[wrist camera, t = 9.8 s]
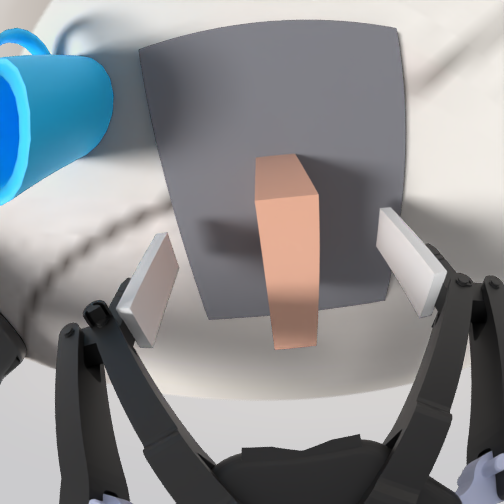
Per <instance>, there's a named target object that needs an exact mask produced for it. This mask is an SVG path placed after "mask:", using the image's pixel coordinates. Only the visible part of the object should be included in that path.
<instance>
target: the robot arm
mask: <svg viewBox="0 0 504 504" xmlns="http://www.w3.org/2000/svg"><path fill="white" fill-rule="evenodd" d="M376 247H377V248H378V250H379V251H380V253H381V254H382V256H383V257H384V259H385V261H386V262H387V264H388V265H389V267H390V269H391V270H392V272H393V273H394V275H395V277H396V278H397V280H398V282H399V283H400V285H401V287H402V288H403V290H404V292H405V294H406V295H407V297H408V299H409V301H410V302H411V304H412V306H413V308H414V309H415V311H416V313H417V315H418V317H419V318H422V317H426V316H430V315H432V312H433V310H434V307H436V309H437V311H438V313H437V316H436V318H435V320H434V323H433V325H432V327H433V329H432V333H431V336H430V339H429V342H428V345H427V348H426V351H425V354H424V357H423V360H422V363H421V366H420V368H419V371H418V373H417V376H416V379H415V381H414V383H413V386H412V388H411V391H410V393H409V395H408V398H407V400H406V402H405V404H404V406H403V408H402V411H401V413H400V415H399V417H398V419H397V421H396V423H395V425H394V427H393V428H392V430H391V432H390V433H389V435H388V436H387V438H386V439H385V441H384V442H383V444H380V443H378V442H375V441H371V440H361V438H360V434H358V435H353V436H348V437H343V438H338V439H333V440H330V441H327V442H325V443H323V444H320V445H318V446H315V447H312V448H309V449H307V450H304V451H298V450H290V449H282V448H275V447H255V448H242V453H241V454H237V455H234V456H231V457H229V458H227V459H225V460H223V461H221V462H220V463H219V464H217V465H216V464H215V462H214V461H213V460H212V459H211V458H210V457H209V456H208V455H207V454H206V453H205V452H204V451H203V450H202V448H201V447H200V446H199V445H198V443H197V442H196V441H195V440H194V439H193V437H192V436H191V435H190V433H189V432H188V431H187V429H186V428H185V427H184V425H183V424H182V423H181V421H180V420H179V418H178V417H177V416H176V414H175V413H174V411H173V410H172V408H171V407H170V406H169V404H168V403H167V401H166V400H165V398H164V397H163V395H162V394H161V392H160V390H159V389H158V387H157V386H156V384H155V383H154V381H153V379H152V378H151V376H150V374H149V373H148V371H147V369H146V368H145V366H144V364H143V363H142V361H141V359H140V357H139V356H138V354H137V352H136V350H135V349H134V347H133V345H134V342H135V341H136V342H137V344H138V345H139V347H140V348H153V346H154V343H155V340H156V336H157V333H158V330H159V327H160V324H161V321H162V317H163V314H164V311H165V308H166V305H167V302H168V299H169V296H170V294H171V291H172V288H173V285H174V282H175V279H176V276H177V274H178V271H179V266H178V263H177V260H176V257H175V254H174V251H173V248H172V245H171V242H170V239H169V236H168V233H167V232H166V233H159V234H156V235H155V237H154V239H153V241H152V242H151V244H150V246H149V247H148V249H147V251H146V253H145V254H144V256H143V258H142V260H141V262H140V263H139V265H138V267H137V269H136V271H135V273H134V274H133V276H132V278H127V279H126V280H125V281H124V282H123V283H122V284H121V285H120V287H119V289H118V292H117V293H116V295H115V297H114V298H113V300H112V302H111V304H110V306H109V308H108V306H107V304H106V303H105V302H104V301H102V300H97V301H94V302H92V303H90V304H89V305H88V306H87V307H86V308H85V309H84V312H83V317H84V319H85V320H86V322H87V323H88V325H89V326H90V327H86V328H83V329H81V328H80V327H79V325H78V324H77V323H70V324H68V325H66V326H65V327H64V328H63V329H62V330H61V332H60V335H59V341H58V351H57V363H56V383H55V414H56V415H55V419H56V435H57V436H56V437H57V448H58V457H59V465H60V472H61V478H62V479H61V488H60V501H59V504H132V503H131V502H130V499H129V493H128V487H127V484H126V479H125V476H124V473H123V469H122V465H121V461H120V457H119V454H118V449H117V445H116V441H115V436H114V431H113V426H112V421H111V415H110V409H109V402H108V395H107V388H106V379H105V369H104V365H105V368H106V370H107V373H108V375H109V378H110V380H111V382H112V385H113V387H114V389H115V391H116V394H117V396H118V398H119V400H120V402H121V404H122V406H123V408H124V410H125V412H126V414H127V416H128V418H129V420H130V422H131V424H132V426H133V428H134V430H135V431H136V433H137V435H138V437H139V438H140V440H141V442H142V444H143V446H144V450H143V453H144V455H145V458H146V459H147V461H148V463H149V464H150V466H151V467H152V469H153V470H154V472H155V474H156V475H157V477H158V478H159V480H160V481H161V482H162V484H163V485H164V487H165V488H166V490H167V491H168V492H169V494H170V495H171V496H172V498H173V499H174V500H175V502H176V504H497V503H500V502H503V501H504V285H503V283H502V281H501V280H500V279H499V278H497V277H495V276H486V277H485V279H484V282H483V284H482V283H473V281H472V280H471V279H470V278H469V277H468V276H467V275H464V274H461V273H456V272H455V271H454V269H453V268H452V267H451V266H450V264H449V263H448V262H447V261H446V260H445V259H444V257H443V256H442V255H440V253H439V251H438V250H437V249H436V248H435V247H433V246H432V245H430V244H424V243H423V242H422V241H421V239H420V238H419V237H418V236H417V235H416V234H415V233H414V232H413V230H412V229H411V228H410V227H409V226H408V225H407V224H406V223H405V222H404V221H403V220H402V219H401V218H400V217H399V216H398V214H397V213H396V212H395V211H394V210H393V209H392V208H391V207H387V208H380V212H379V224H378V233H377V242H376ZM468 334H469V340H470V353H471V378H472V388H471V389H472V391H471V415H470V428H469V436H468V445H467V466H466V467H465V468H464V470H463V472H462V474H461V476H460V477H459V478H458V481H457V483H458V486H459V487H458V489H457V491H456V492H453V491H452V490H450V489H448V488H447V487H445V486H444V485H442V484H441V483H439V482H437V481H436V480H434V479H433V478H431V477H430V476H429V474H430V472H431V470H432V468H433V466H434V464H435V462H436V459H437V457H438V455H439V453H440V450H441V448H442V445H443V443H444V441H445V438H446V435H447V432H448V430H449V427H450V425H451V421H452V414H450V409H451V405H452V403H453V399H454V396H455V393H456V389H457V385H458V382H459V378H460V374H461V370H462V365H463V361H464V356H465V351H466V345H467V340H468ZM26 353H27V350H26V347H25V345H24V343H23V341H22V340H21V338H20V337H19V335H18V334H17V332H16V331H15V330H14V329H13V327H12V326H11V325H10V324H9V323H8V321H7V320H6V319H5V318H4V317H3V316H2V315H1V314H0V384H1V381H2V379H3V378H4V377H6V375H8V374H9V373H10V372H11V371H12V370H13V369H15V368H16V367H17V366H18V365H19V364H20V363H21V362H22V361H23V359H24V357H25V355H26Z"/></svg>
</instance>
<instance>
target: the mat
mask: <svg viewBox="0 0 504 504" xmlns="http://www.w3.org/2000/svg"><path fill="white" fill-rule="evenodd" d="M139 56H140V62H141V68H142V74H143V80H144V85H145V90H146V96H147V101H148V106H149V111H150V116H151V120H152V125H153V130H154V134H155V139H156V143H157V147H158V152H159V156H160V160H161V164H162V168H163V172H164V176H165V180H166V184H167V187H168V191H169V195H170V199H171V202H172V206H173V209H174V213H175V217H176V220H177V224H178V227H179V230H180V234H181V237H182V240H183V244H184V247H185V250H186V253H187V257H188V260H189V263H190V266H191V269H192V272H193V275H194V278H195V281H196V284H197V287H198V290H199V293H200V296H201V299H202V302H203V305H204V308H205V311H206V313H207V316H208V319H209V320H214V319H230V318H244V317H257V316H269V315H270V309H269V302H268V294H267V287H266V279H265V272H264V265H263V257H262V250H261V243H260V235H259V228H258V221H257V214H256V207H255V168H256V158H257V157H265V156H275V155H285V154H296V156H297V158H298V159H299V161H300V163H301V164H302V166H303V168H304V170H305V171H306V173H307V175H308V176H309V178H310V180H311V182H312V184H313V185H314V187H315V189H316V191H317V192H318V194H319V231H320V264H319V304H318V310H324V309H332V308H339V307H346V306H353V305H360V304H366V303H372V302H379V301H384V300H385V299H386V294H387V290H388V286H389V281H390V276H391V271H392V270H391V269H390V267H389V265H388V264H387V262H386V261H385V259H384V257H383V256H382V254H381V253H380V251H379V250H378V248H377V247H376V242H377V233H378V224H379V212H380V208H387V207H391V208H392V209H393V210H394V211H395V212H396V213H397V214H398V216H399V217H400V215H401V206H402V196H403V184H404V169H405V97H404V82H403V71H402V62H401V54H400V47H399V40H398V34H397V29H396V28H392V27H387V26H381V25H374V24H367V23H358V22H348V21H333V20H282V21H267V22H256V23H248V24H240V25H233V26H227V27H221V28H216V29H211V30H206V31H201V32H197V33H192V34H188V35H184V36H180V37H177V38H173V39H170V40H166V41H163V42H160V43H156V44H153V45H150V46H147V47H145V48H142V49H139Z"/></svg>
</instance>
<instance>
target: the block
mask: <svg viewBox="0 0 504 504" xmlns="http://www.w3.org/2000/svg"><path fill="white" fill-rule="evenodd" d="M255 207H256V214H257V221H258V228H259V235H260V243H261V250H262V257H263V265H264V272H265V279H266V287H267V294H268V302H269V309H270V317H271V325H272V332H273V340H274V348H275V350H279V349H290V348H300V347H309V346H316V343H317V326H318V304H319V264H320V231H319V194H318V192H317V191H316V189H315V187H314V185H313V184H312V182H311V180H310V178H309V176H308V175H307V173H306V171H305V170H304V168H303V166H302V164H301V163H300V161H299V159H298V158H297V156H296V154H285V155H275V156H265V157H257V158H256V168H255Z"/></svg>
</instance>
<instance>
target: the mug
mask: <svg viewBox="0 0 504 504" xmlns="http://www.w3.org/2000/svg"><path fill="white" fill-rule="evenodd" d="M9 42H10V43H17V44H19V45H21V46H23V47H25V48H26V49H27V50H28V51H29V52H30V53H31V54H32V55H24V56H12V57H2V58H0V205H1V206H2V205H3V204H5V203H7V202H9V201H10V200H12V199H14V198H15V197H16V196H18V195H19V194H21V193H22V192H24V191H25V190H27V189H28V188H30V187H31V186H33V185H34V184H36V183H38V182H39V181H41V180H42V179H44V178H46V177H47V176H49V175H51V174H52V173H54V172H56V171H57V170H59V169H61V168H63V167H64V166H66V165H68V164H70V163H72V162H74V161H75V160H77V159H79V158H81V157H83V156H85V155H87V154H88V153H89V152H90V151H92V150H93V149H94V148H95V147H96V146H97V145H98V144H99V143H100V141H101V139H102V138H103V136H104V134H105V133H106V131H107V129H108V126H109V123H110V119H111V116H112V113H113V98H114V95H113V90H112V85H111V80H110V78H109V76H108V74H107V72H106V71H105V69H104V67H103V66H102V65H101V64H99V63H98V62H97V61H95V60H94V59H93V58H89V57H84V56H76V55H51V54H50V52H49V51H48V49H47V48H46V46H45V45H44V43H43V42H42V41H41V40H40V39H39V38H38V37H37V36H36V35H34V34H32V33H31V32H29V31H27V30H24V29H19V28H14V29H8V30H5V31H3V32H2V33H0V45H2V44H5V43H9Z"/></svg>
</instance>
